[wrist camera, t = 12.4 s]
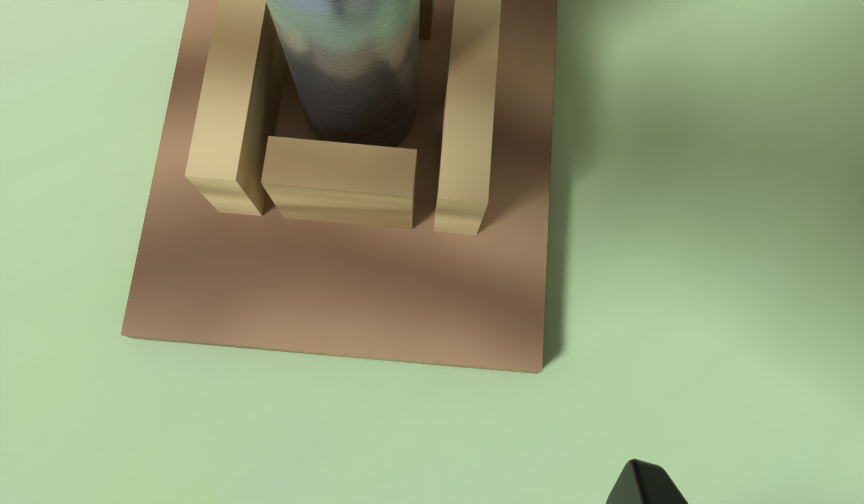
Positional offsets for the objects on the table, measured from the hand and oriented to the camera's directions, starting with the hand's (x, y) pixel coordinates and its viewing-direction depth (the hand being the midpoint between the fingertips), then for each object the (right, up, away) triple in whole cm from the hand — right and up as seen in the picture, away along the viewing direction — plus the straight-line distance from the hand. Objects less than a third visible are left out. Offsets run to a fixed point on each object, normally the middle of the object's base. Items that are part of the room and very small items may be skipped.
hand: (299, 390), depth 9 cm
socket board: (-1, +7, +16) cm, 17 cm away
